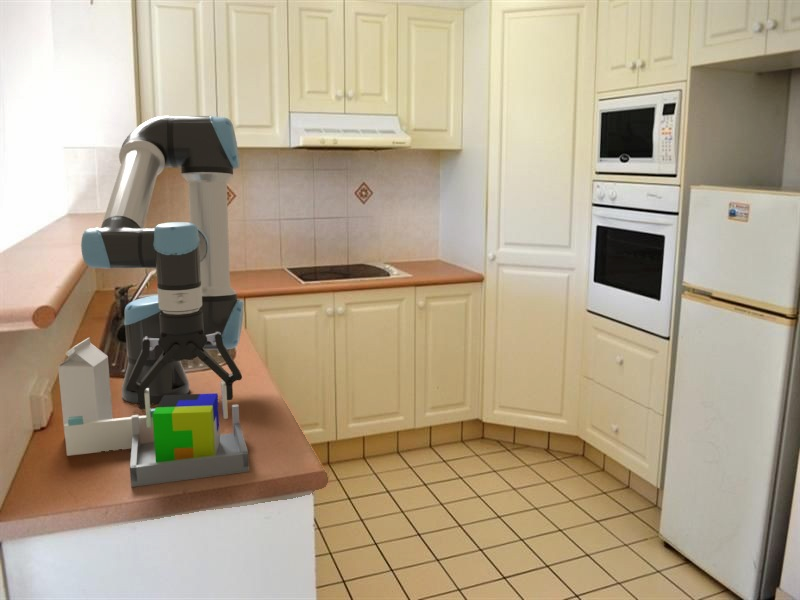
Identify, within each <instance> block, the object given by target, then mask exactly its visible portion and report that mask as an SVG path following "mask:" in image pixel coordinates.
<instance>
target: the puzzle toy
mask: <svg viewBox="0 0 800 600" xmlns="http://www.w3.org/2000/svg"><path fill="white" fill-rule="evenodd" d="M218 396H219V394H218V393H194V394H193V393H190V394H189V393H188V394H183V395H164V396H163V398H162V399H161V401H160V403H157V406H156V407H155V408H156V409H155V411H154V412H153V428H154V443H155V457H156V463H157V462H165V461H173V460H181V459H189V458H197V457H205V456H213V455H216V453H217V450H218V447H219V444H220V435H221V433H220V417H219V416H220V415H219V414H220V413H219V411H220V410H219V397H218Z"/></svg>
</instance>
